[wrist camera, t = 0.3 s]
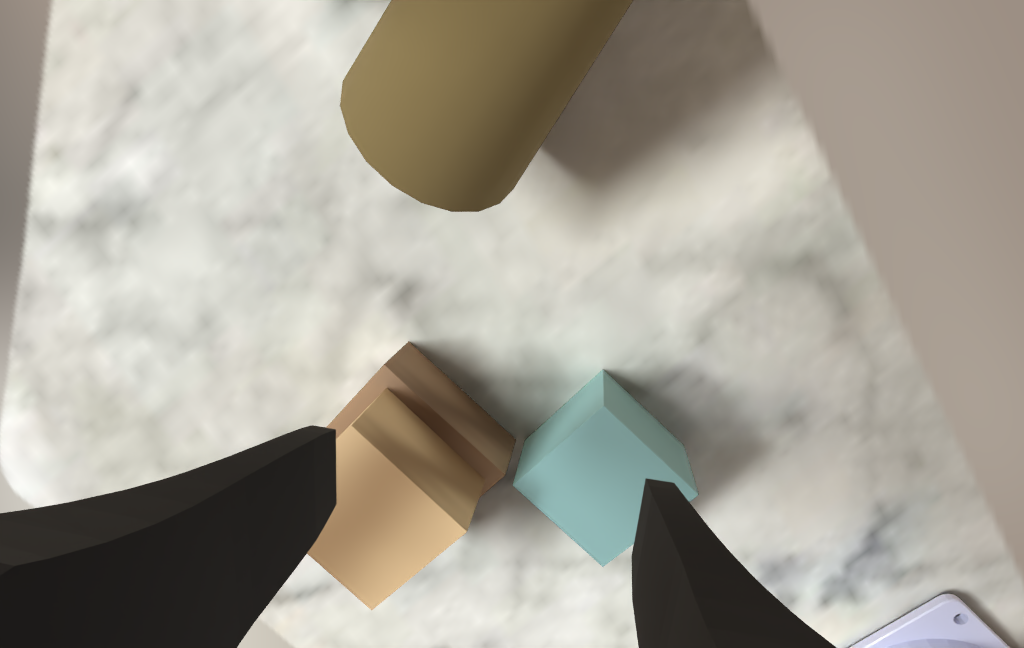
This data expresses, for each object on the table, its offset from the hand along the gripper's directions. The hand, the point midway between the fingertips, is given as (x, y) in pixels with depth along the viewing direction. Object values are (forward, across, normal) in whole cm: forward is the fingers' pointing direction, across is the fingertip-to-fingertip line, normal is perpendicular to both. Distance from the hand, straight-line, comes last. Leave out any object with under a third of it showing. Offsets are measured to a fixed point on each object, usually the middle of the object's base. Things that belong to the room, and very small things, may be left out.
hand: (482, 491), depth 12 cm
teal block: (+10, -3, +3) cm, 11 cm away
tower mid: (+7, +5, +4) cm, 9 cm away
